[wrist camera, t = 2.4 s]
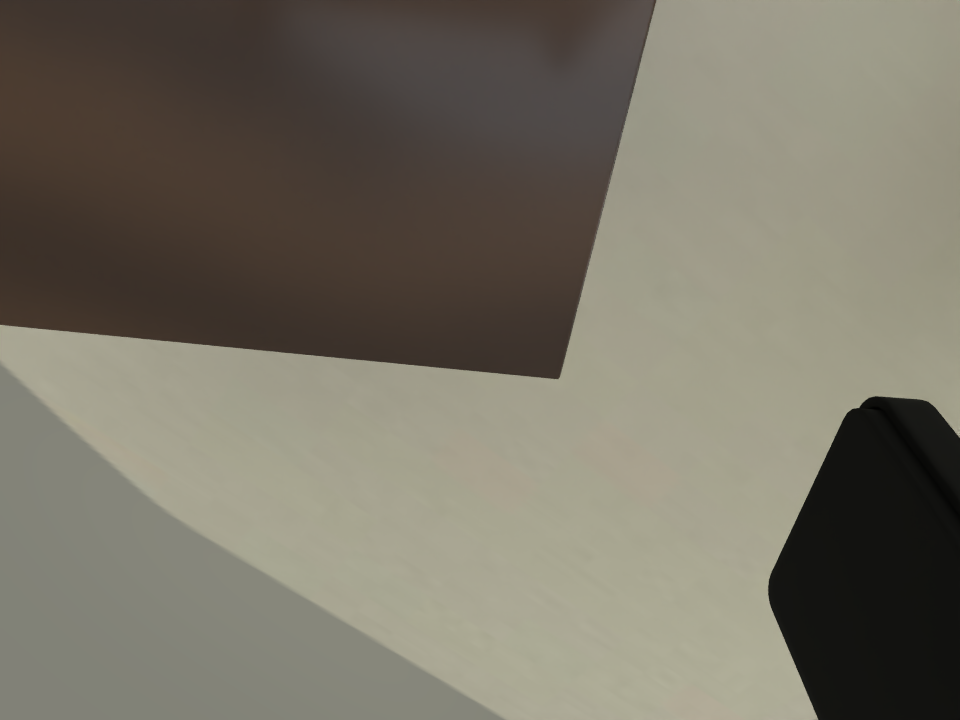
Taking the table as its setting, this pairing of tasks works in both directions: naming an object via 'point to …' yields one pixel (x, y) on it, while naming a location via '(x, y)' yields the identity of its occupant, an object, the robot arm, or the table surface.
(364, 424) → the table surface
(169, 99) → the cabinet
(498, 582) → the table surface
